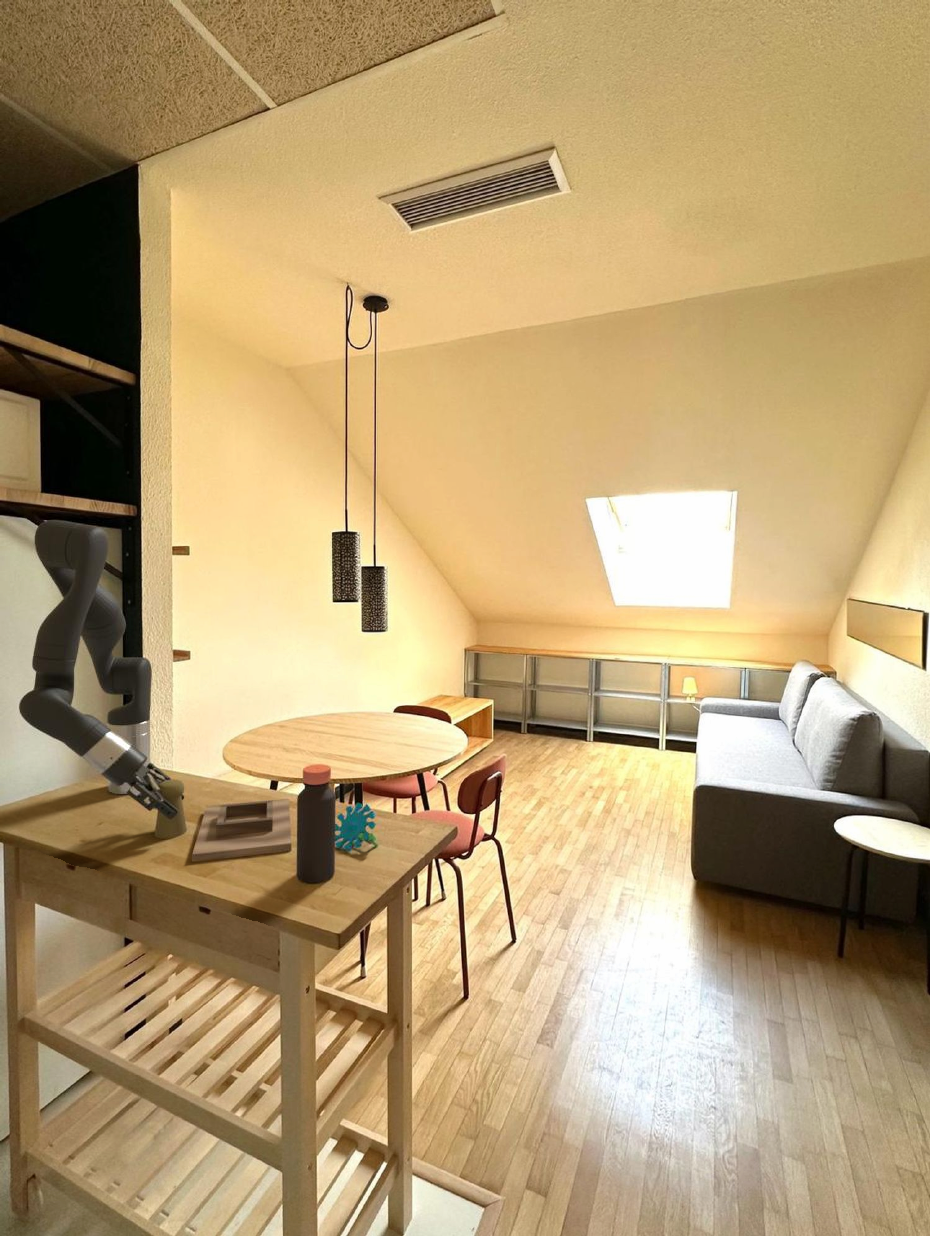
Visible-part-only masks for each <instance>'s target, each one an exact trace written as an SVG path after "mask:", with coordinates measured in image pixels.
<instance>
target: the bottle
mask: <svg viewBox="0 0 930 1236" xmlns="http://www.w3.org/2000/svg"><path fill="white" fill-rule="evenodd" d="M331 772H332V769H331V766H330V765H327V764H322V763H320V764H318V763H316V764H310V765H307V766H305V767H304V768H303V769H302V784H303V786H304V788H303V789H302V790H301V791H300V792H299V794H298V795H297V798H296V799H297V800H296V801H297V802H296V877H297V879H298V880H299V881H300V882H301V883H304V884H311V885H314V884H320V883H324V882H327V881H329V880H330V879H331V878H332V877H334V874H335V868H336V867H335V866H336V865H335V864H336V861H335V860H336V859H335V858H336V850H335V849H336V842H335V834H336V831H335V824H336V800H337V799H336V795H337V794H336V793H335V790H333V789H332V788H331V787H330V785H329V784H330V783H331V778H332V777H331V774H332V773H331Z"/></svg>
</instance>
